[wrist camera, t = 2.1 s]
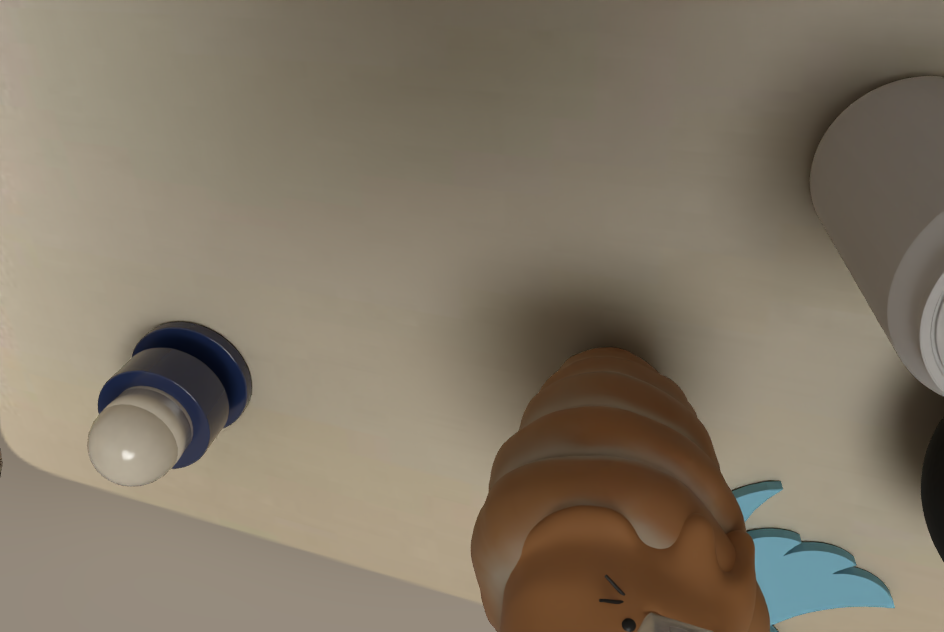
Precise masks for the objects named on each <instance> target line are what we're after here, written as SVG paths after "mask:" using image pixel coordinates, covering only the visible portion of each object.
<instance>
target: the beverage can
mask: <svg viewBox="0 0 944 632" xmlns="http://www.w3.org/2000/svg"><path fill="white" fill-rule="evenodd" d="M810 191H811V198H812V202H813V206H814V209H815V211H816V213H817V216H818V218H819V219H820V221H821V223H822V225H823V226H824V228H825V230H826V232H827V233H828V235H829V237H830V238H831V240H832V242H833V244H834V245H835V247H836V249H837V251H838V252H839V254H840V256H841V258H842V259H843V261H844V263H845V264H846V266H847V268H848V270H849V271H850V273H851V275H852V277H853V278H854V280H855V282H856V284H857V285H858V287H859V289H860V290H861V292H862V294H863V296H864V297H865V299H866V301H867V303H868V304H869V306H870V308H871V310H872V311H873V313H874V315H875V316H876V318H877V320H878V322H879V323H880V325H881V327H882V329H883V330H884V332H885V334H886V336H887V337H888V339H889V341H890V342H891V344H892V346H893V348H894V349H895V351H896V353H897V355H898V356H899V358H900V360H901V361H902V362H903V364H904V365H905V366H906V368H907V369H908V370H909V371H910V372H911V373H912V375H913V376H914V377H915V378H917V379H918V380H919V381H920V382H921V383H922V384H924V385H925V386H926V387H928V388H929V389H931V390H933V391H934V392H936V393H938V394H939V395H942V396H944V77H938V76H922V77H913V78H906V79H902V80H898V81H895V82H892V83H889V84H886V85H884V86H881V87H879V88H877V89H875V90H872V91H871V92H869V93H867V94H865V95H864V96H862V97H861V98H859V99H858V100H856V101H855V102H853V103H852V104H851V105H850V106H849V107H848V108H846V109H845V110H844V111H843V112H842V113H841V114H840V115H839V116H838V117H837V118H836V119H835V121H834V122H833V123H832V124H831V125H830V127H829V128H828V130H827V131H826V133H825V134H824V136H823V138H822V139H821V141H820V143H819V145H818V148H817V150H816V153H815V156H814V159H813V163H812V167H811V173H810Z"/></svg>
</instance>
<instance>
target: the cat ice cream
mask: <svg viewBox="0 0 944 632" xmlns="http://www.w3.org/2000/svg"><path fill="white" fill-rule="evenodd" d="M471 558H472V563H473V567H474V571H475V574H476V577H477V581H478V584H479V587H480V591H481V598H482V602H483V606H484V609H485V612H486V616H487V618H488V620H489V622H490V623H491V625H492V626H493V627H494V628H495V629H496V631H497V632H637V631H638V629H639V627H640V625H641V624H642V622H643V620H644V618H645V617H646V616H647V615H648V614H649V613H651V612H652V613H655V614H658V615H662V616H665V617H668V618H671V619H675V620H678V621H681V622H684V623H688V624H691V625H694V626H697V627H700V628H704V629H707V630H710V631H713V632H770V616H769V611H768V607H767V604H766V601H765V598H764V595H763V593H762V591H761V588H760V586H759V584H758V582H757V580H756V572H755V545H754V541H753V539H752V537H751V536H750V535H749V534H748V533H746V528H745V522H744V517H743V514H742V511H741V508H740V506H739V504H738V502H737V500H736V498H735V496H734V494H733V493H732V491H731V490H730V488H729V487H728V485H727V483H726V482H725V480H724V478H723V476H722V474H721V472H720V466H719V463H718V460H717V457H716V454H715V451H714V448H713V445H712V442H711V439H710V436H709V434H708V432H707V430H706V429H705V427H704V425H703V424H702V423H701V422H700V421H699V419H698V418H697V415H696V412H695V411H694V409H693V407H692V406H691V404H690V403H689V402H688V400H687V398H686V396H685V394H684V393H683V391H682V390H681V389H680V387H679V386H678V385H677V384H676V383H674V382H673V381H672V380H671V379H669V378H667V377H665V376H663V375H661V374H660V373H659V372H658V371H657V370H656V369H654V368H653V367H652V366H651V365H649V364H648V363H647V362H646V361H644V360H643V359H641V358H639V357H637V356H636V355H634V354H632V353H630V352H629V351H626V350H623V349H620V348H614V347H602V348H594V349H590V350H587V351H584V352H581V353H579V354H576V355H574V356H571V357H570V358H569V359H567V360H566V362H565V363H564V364H563V365H562V366H561V367H560V369H559V370H558V372H556V373H554V374H553V375H552V376H551V377H550V378H549V379H548V380H547V381H546V382H545V383H544V385H543V386H542V387H541V389H540V391H539V393H538V394H537V395H536V396H534V397H533V398H532V400H531V401H530V402H529V404H528V406H527V407H526V409H525V411H524V414H523V417H522V420H521V424H520V429H519V431H518V432H517V433H516V434H514V435H513V436H512V437H510V438H509V439H508V440H507V441H506V442H505V443H504V444H503V445H502V446H501V448H500V449H499V451H498V453H497V455H496V457H495V460H494V463H493V466H492V470H491V477H490V482H489V493H488V496H487V498H486V501H485V504H484V505H483V507H482V508H481V510H480V512H479V515H478V517H477V520H476V523H475V526H474V530H473V535H472V540H471Z"/></svg>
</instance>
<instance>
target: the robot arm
mask: <svg viewBox="0 0 944 632" xmlns="http://www.w3.org/2000/svg"><path fill="white" fill-rule="evenodd" d="M1 470H2V456H1V449H0V476H1ZM637 632H713V631H710V630H707V629H704V628H700V627H697V626H694V625H691V624H688V623H684V622H681V621H678V620H675V619H671V618H668V617H665V616H662V615H658V614H655V613H652V612H651V613H649V614H648V615H647V616H646V617H645V618H644V620H643V622H642V624H641V625H640V627H639V629H638V631H637Z"/></svg>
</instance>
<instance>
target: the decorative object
mask: <svg viewBox="0 0 944 632" xmlns="http://www.w3.org/2000/svg"><path fill="white" fill-rule="evenodd" d="M781 490H783V487H782V484H781V481H771V482H762V483H757V484H752V485H748V486H745V487H742V488H740V489H737V490H734V491H732V493H733V494H734V496H735V498H736V500H737V502H738V504H739V506H740V508H741V511H742V514H743V517H744V522H745V521H746V520H747V519H748V518H749V516H750V515H751V514H752V513H753V511H754V510H755V509H757V508H758V507H759V506H760V505H761V504H763V503H764V502H765V501H766V500H767V499H769V498H770V497H772V496H773V495H775V494H777V493H778V492H780V491H781ZM746 533H748V534H749V535H750V536H751V537H752V539H753V541H754V545H755V572H756V580H757V582H758V584H759V586H760V588H761V591H762V593H763V595H764V598H765V601H766V604H767V607H768V611H769V616H770V632H778V631H777V630H776V629H775V628H774V627H773V626H772V625H774V624H776V623H779V622H781V621H784V620H786V619H789V618H792V617H794V616H798V615H802V614H806V613H810V612H815V611H820V610H826V609H834V608H843V607H865V606H866V607H885V608H895V607H894V603H893V600H892V597H891V594H890V592H889V590H888V588H887V587H886V586H885V584H884V583H883V582H882V581H881V580H880V579H879V578H877V577H876V576H874V575H873V574H871V573H869V572H867V571H865V570H862V569H859V568H855V567H852V566H856V562H855V559H854V556H852V555H851V554H850V553H848V552H847V551H845V550H843V549H841V548H838V547H836V546H833V545H829V544H825V543H817V542H801V538H800V535H799V534H797V533H795V532H792V531H787V530H783V529H773V528H770V529H758V530H752V531H749V532H746Z"/></svg>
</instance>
